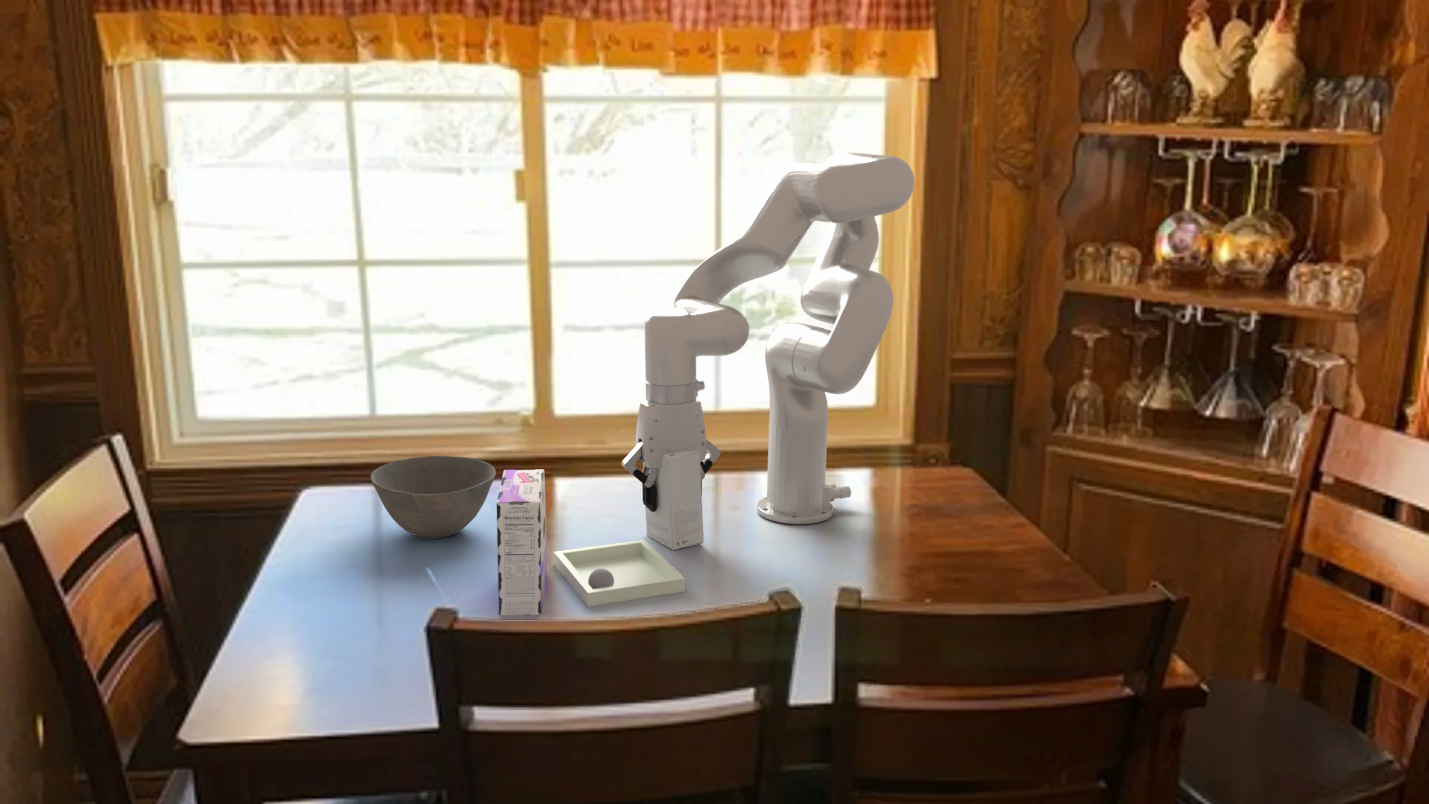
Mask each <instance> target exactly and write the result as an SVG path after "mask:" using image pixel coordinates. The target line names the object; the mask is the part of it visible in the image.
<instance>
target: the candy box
mask: <svg viewBox="0 0 1429 804" xmlns="http://www.w3.org/2000/svg"><path fill="white" fill-rule="evenodd" d="M545 476H546V475H545V469H540V468H539V469H537V468H536V469H533V468H532V469H529V468H528V469H504V470H503V473H502V477H501V483H500V485H499V486H500V487H499V491H498V495H497V500H496V532H497V535H496V538H497V539H496V540H497V541H496V543H497V545H496V546H497V584H498V585H497V586H498V587H497V589H498V591H497V593H498V615H499V616H538V615H542V614H543V613H542V612H543V605H544V599H545V591H546V581H547V576H548V574H547V573H548V572H547V570H548V569H547V568H548V566H547V563H548V562H547V560H548V559H547V524H546V523H547V517H546V513H547V512H546V480H545V479H546V478H545Z"/></svg>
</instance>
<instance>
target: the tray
mask: <svg viewBox="0 0 1429 804" xmlns="http://www.w3.org/2000/svg"><path fill="white" fill-rule="evenodd" d="M553 565H554V566H555V567H556V569H557V571H558V572H560V574H561V575H562V576H563V577H564V579H565V580H566V581H567V583H568V584H569V585H570V586H571V588H573V590H574V591H575V592H576V594H577V595H578V596H579V597H580V599H582V601H583V603H584V604H585V605H586V606H587V607H594V606H595V607H596V606H601V605H607V604H614V603H619V602H620V603H621V602H626V601H634V600H640V599H646V598H652V597H659V596H665V595H670V594H671V595H672V594H677V593H685V592H686V577H684V575H682V573H681V572H680V571H679V570H677V569H676V568H675V567H674V566H673V565H672V564H671V563H670V562H669V561H668V560H667V559H666V558H665V557H664V556H662V555H661V553H659V552H658V550H656V549H655V548H654V547H653V546H652V545H651V544H650V543H649V542H648V541H647V540H646V539H639V540H638V539H637V540H630V541H624V542H617V543H608V544H603V545H593V546H587V547H577V548H571V549H565V550H564V549H563V550H558V551H553ZM600 568H602V569H606V570H608V571H610V572H611V574H612V575H613V578H614V585H613V586H611V587H604V588H598V589H592V588H591V586H590V585H589V584H588V579H589V576H590V574H591V573H592V572H593V571H594V570H596V569H600Z"/></svg>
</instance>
